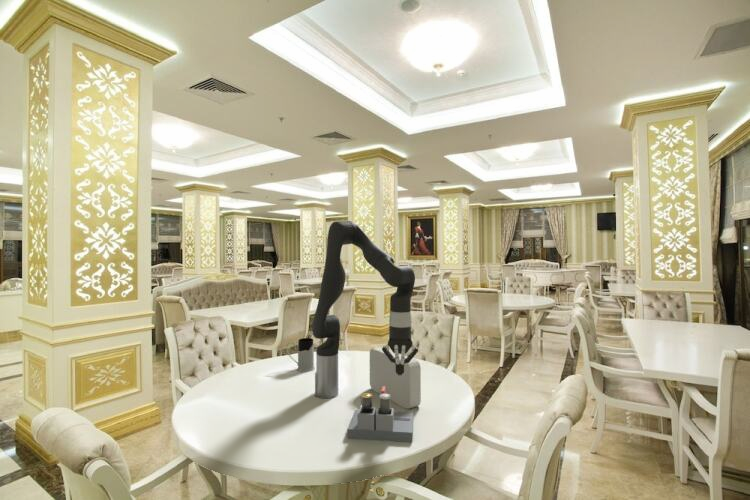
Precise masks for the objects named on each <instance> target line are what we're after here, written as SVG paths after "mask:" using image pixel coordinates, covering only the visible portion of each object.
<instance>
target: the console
mask: <svg viewBox="0 0 750 500" xmlns="http://www.w3.org/2000/svg"><path fill="white" fill-rule="evenodd" d="M394 409H395V408H393V407H392V408H391V407H390V412H389V413H381V412H380V407H372V411H371V412H369V413H365V412H362V407H361V406H360V407H359V409H354V412H353V415H352V417H351V419H350V421H349V425H348V427H347V429H346V430H347V431H346V433H347V439H348V440H349V439H353V440H367V441H368V440H370V441H387V442H403V443H404V442H405V443H414V442H413V441H414V440H413V439H414V438H413V436H414V435H413V434H414V412H411V411H410V412H408V411H395V410H394Z"/></svg>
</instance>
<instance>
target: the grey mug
mask: <svg viewBox="0 0 750 500" xmlns="http://www.w3.org/2000/svg"><path fill="white" fill-rule="evenodd" d="M289 344H293V346H294V350H295V351H297V360H298V361H297V360H296V359H294V358H293V357H292V356H291V354H290V352H289V349H288V345H289ZM296 347H297V346H296V344H295V342H293V341H290V342H288V343H287V344H286V351H287V355H288V356H289V357H290V359H291V360H292V361H294V362H295V363H296V364H297V371H298V372H305V373H306V372H312V371H314V370H315V363H314V361H315V360H314V354H315V353H314V351H315V350H314V349H315V348H314V339H313V338H310V337H308V338H307V337H306V338H305V337H304V338H299V339H298V349H297V348H296Z"/></svg>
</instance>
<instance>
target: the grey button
mask: <svg viewBox="0 0 750 500" xmlns="http://www.w3.org/2000/svg"><path fill="white" fill-rule="evenodd" d="M390 398H391V396H390V395H389V394H379V408H380V412H381V413H389V412H390V408H391V400H390Z"/></svg>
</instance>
